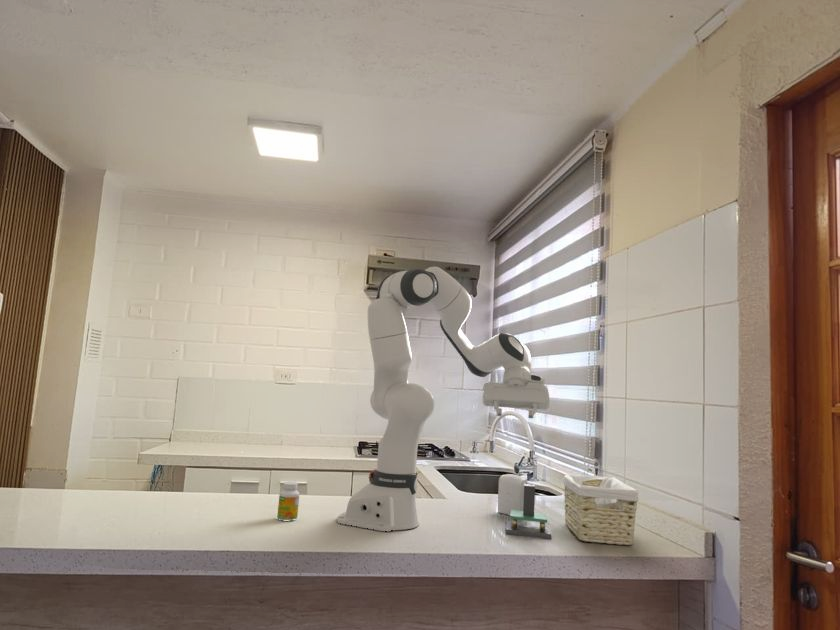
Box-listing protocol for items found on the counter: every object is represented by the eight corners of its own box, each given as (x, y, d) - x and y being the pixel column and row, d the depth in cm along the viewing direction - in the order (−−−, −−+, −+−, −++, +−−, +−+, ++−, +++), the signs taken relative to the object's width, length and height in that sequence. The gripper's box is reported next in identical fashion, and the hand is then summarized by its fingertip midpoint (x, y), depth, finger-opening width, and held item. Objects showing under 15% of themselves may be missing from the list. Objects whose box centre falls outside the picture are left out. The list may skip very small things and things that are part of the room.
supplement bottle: (273, 520, 146) (276, 483, 147) (282, 516, 151) (286, 480, 152) (291, 522, 144) (294, 485, 146) (300, 518, 150) (303, 482, 151)
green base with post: (510, 518, 149) (511, 485, 150) (510, 512, 156) (512, 481, 158) (547, 522, 147) (548, 489, 148) (546, 516, 154) (547, 484, 156)
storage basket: (560, 521, 165) (562, 472, 167) (615, 526, 163) (615, 476, 165) (576, 543, 141) (577, 485, 143) (640, 549, 140) (640, 490, 142)
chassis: (505, 533, 146) (506, 520, 147) (507, 523, 158) (508, 510, 159) (551, 538, 144) (551, 524, 144) (549, 528, 156) (549, 515, 156)
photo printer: (495, 512, 172) (496, 472, 174) (504, 510, 175) (505, 471, 176) (520, 519, 164) (521, 477, 166) (529, 518, 167) (530, 477, 168)
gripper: (483, 374, 171) (479, 406, 161) (549, 377, 167) (549, 410, 157) (484, 388, 175) (480, 420, 164) (548, 392, 171) (549, 425, 160)
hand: (514, 415), depth 160 cm, fingers open, 8 cm apart
